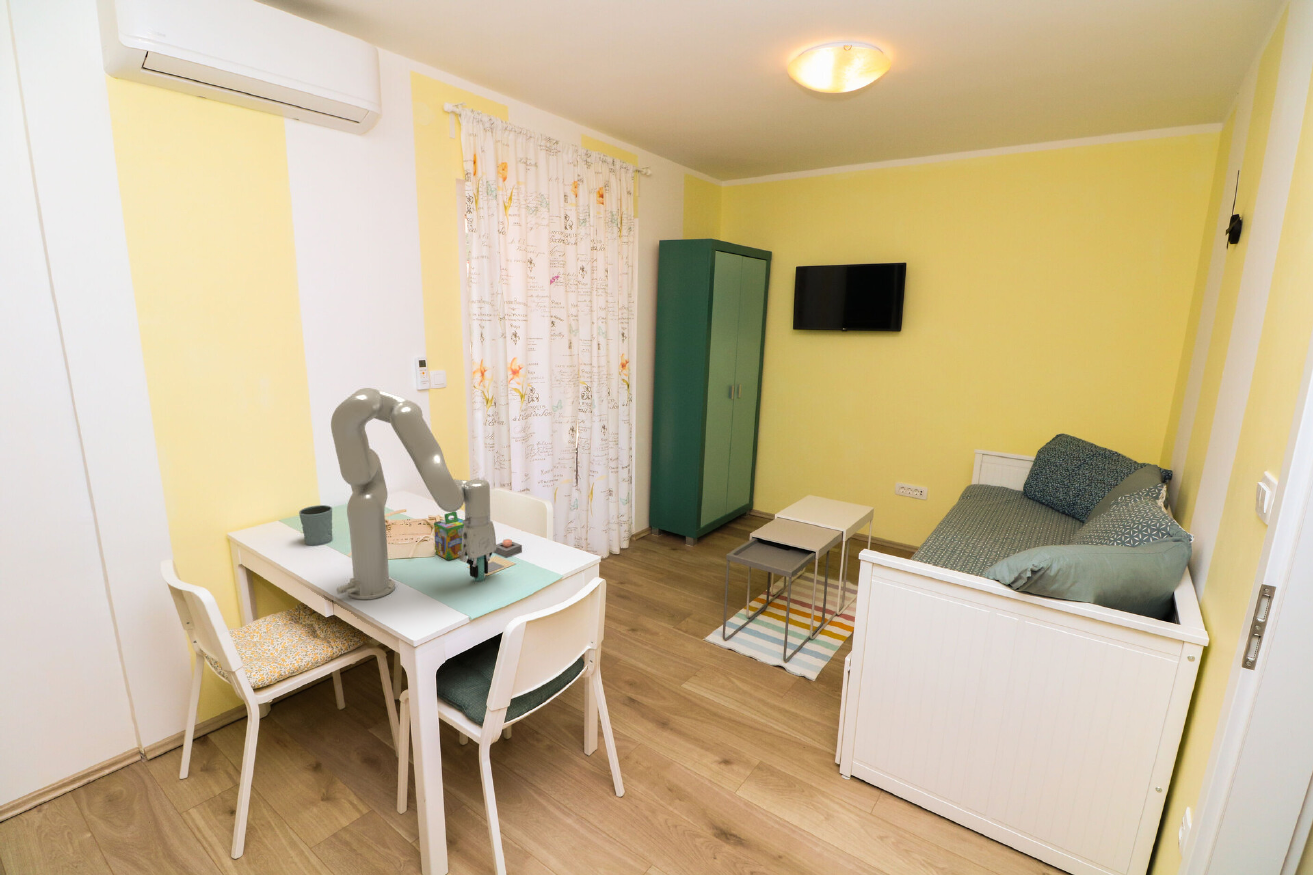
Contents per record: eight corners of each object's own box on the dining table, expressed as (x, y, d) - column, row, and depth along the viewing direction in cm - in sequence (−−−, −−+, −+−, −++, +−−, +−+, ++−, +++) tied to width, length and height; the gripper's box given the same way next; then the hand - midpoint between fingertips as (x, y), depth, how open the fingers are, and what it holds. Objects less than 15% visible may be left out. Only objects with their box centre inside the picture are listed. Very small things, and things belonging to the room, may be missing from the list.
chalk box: (448, 561, 198) (446, 519, 195) (434, 553, 204) (432, 513, 201) (472, 553, 205) (471, 513, 202) (458, 546, 211) (456, 507, 208)
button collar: (506, 557, 203) (506, 550, 202) (493, 552, 206) (492, 545, 206) (521, 551, 208) (521, 544, 208) (508, 546, 212) (508, 540, 212)
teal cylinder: (478, 582, 183) (477, 555, 182) (471, 579, 185) (470, 552, 183) (487, 578, 186) (486, 552, 184) (480, 575, 188) (479, 549, 186)
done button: (507, 550, 205) (506, 543, 204) (501, 547, 207) (501, 540, 206) (513, 547, 207) (513, 540, 207) (507, 545, 209) (507, 538, 209)
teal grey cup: (340, 537, 215) (338, 506, 212) (322, 547, 205) (319, 515, 202) (314, 535, 216) (311, 504, 213) (295, 545, 206) (292, 513, 203)
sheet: (487, 575, 188) (487, 575, 188) (467, 567, 194) (467, 566, 194) (515, 564, 198) (515, 563, 198) (496, 556, 203) (496, 555, 203)
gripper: (463, 529, 173) (464, 587, 177) (506, 515, 186) (507, 569, 190) (447, 523, 177) (449, 580, 181) (491, 510, 190) (492, 563, 194)
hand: (479, 574), depth 185 cm, fingers closed on teal cylinder, 3 cm apart
